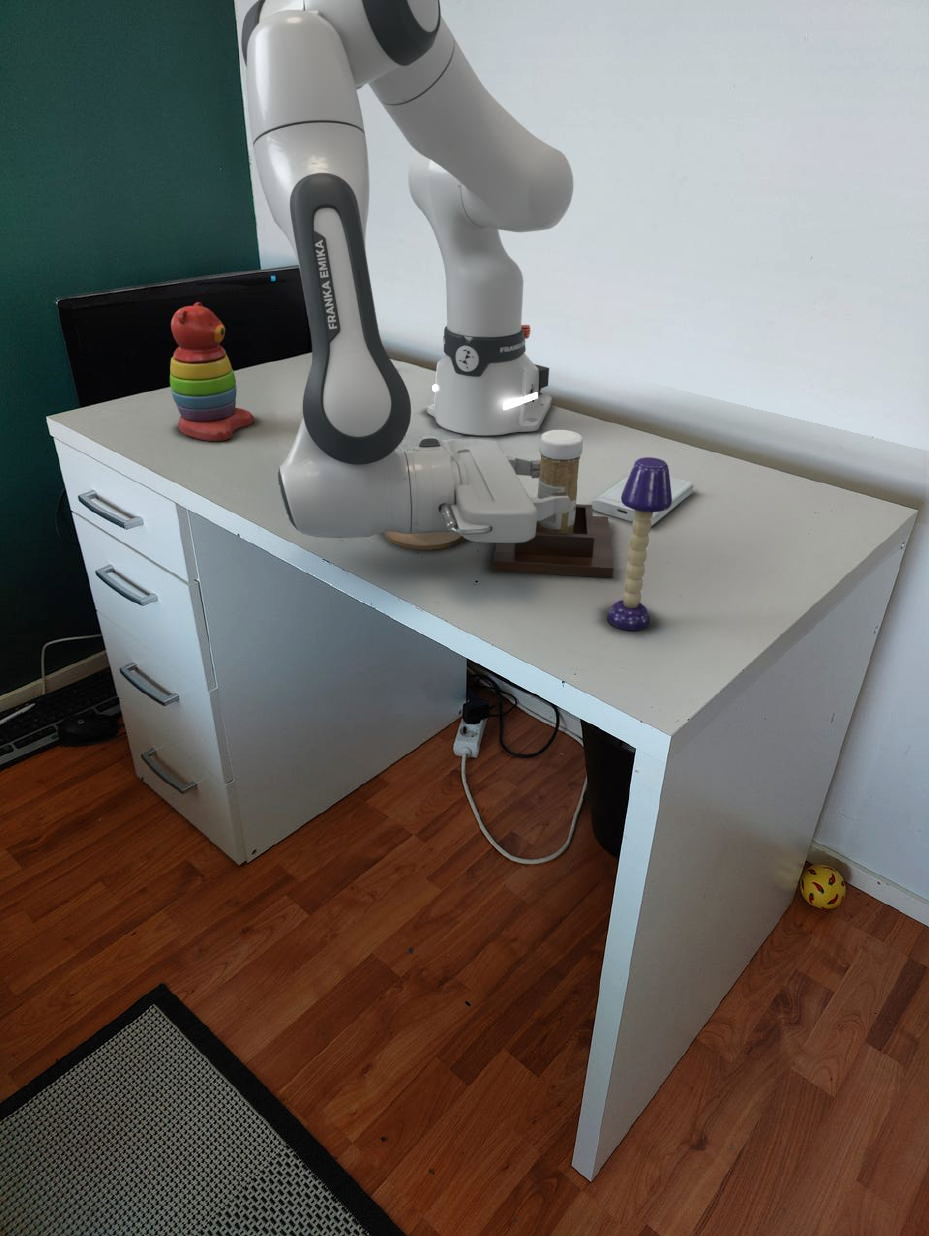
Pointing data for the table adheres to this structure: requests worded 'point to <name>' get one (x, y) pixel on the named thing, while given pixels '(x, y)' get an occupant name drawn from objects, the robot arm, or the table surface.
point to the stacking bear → (204, 377)
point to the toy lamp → (640, 536)
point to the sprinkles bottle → (559, 476)
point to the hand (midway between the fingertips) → (556, 484)
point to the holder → (562, 550)
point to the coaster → (425, 540)
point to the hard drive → (615, 507)
